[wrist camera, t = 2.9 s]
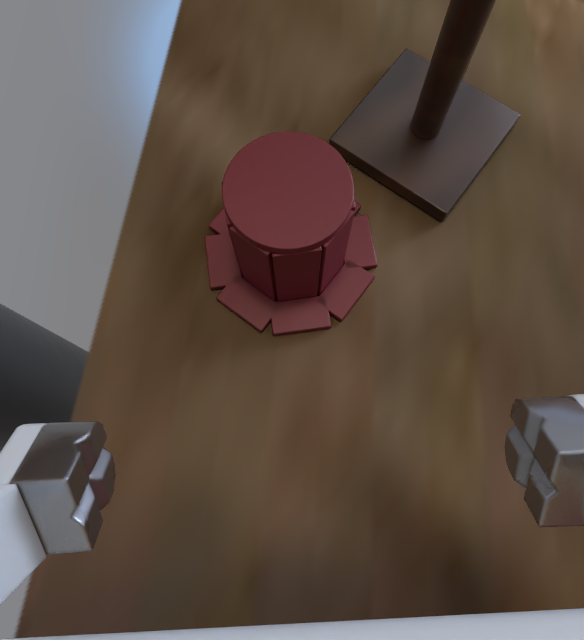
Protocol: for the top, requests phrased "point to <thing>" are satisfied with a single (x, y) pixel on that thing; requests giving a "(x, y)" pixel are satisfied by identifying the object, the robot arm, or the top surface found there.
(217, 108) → the top surface
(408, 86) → the hat stand
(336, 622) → the robot arm
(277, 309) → the hat
